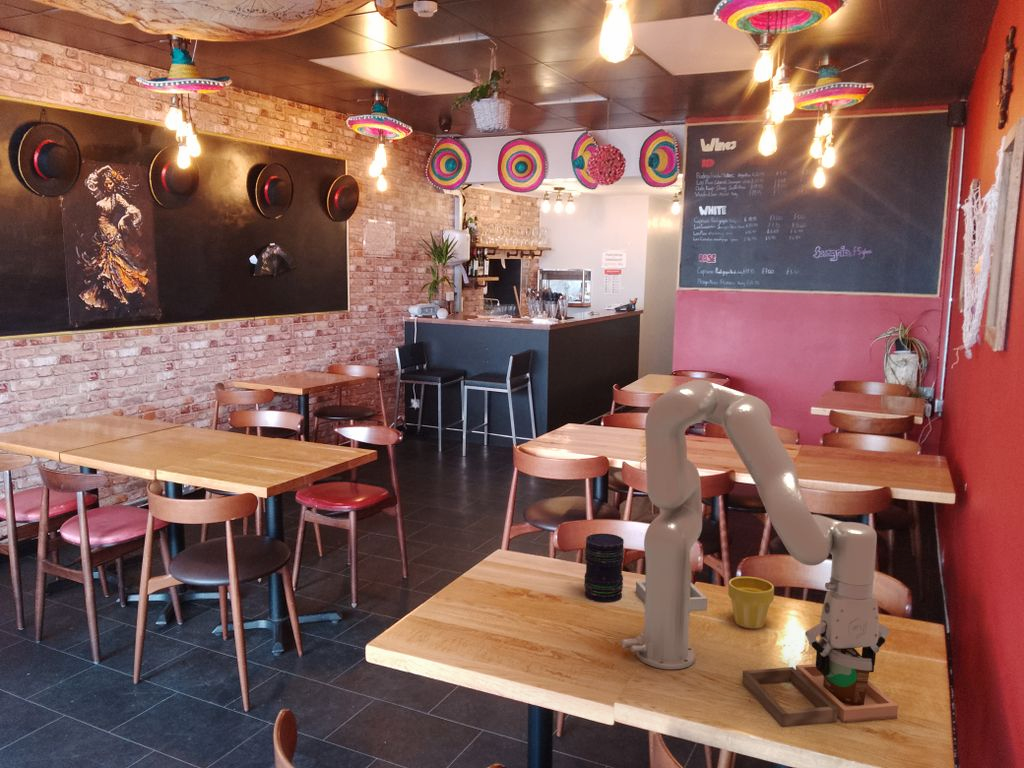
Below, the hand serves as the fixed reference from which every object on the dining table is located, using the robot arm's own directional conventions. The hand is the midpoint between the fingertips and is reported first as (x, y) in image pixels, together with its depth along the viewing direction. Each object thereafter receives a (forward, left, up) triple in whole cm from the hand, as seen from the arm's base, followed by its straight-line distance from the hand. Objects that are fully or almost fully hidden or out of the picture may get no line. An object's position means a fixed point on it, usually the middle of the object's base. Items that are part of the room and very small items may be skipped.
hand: (844, 670), depth 152 cm
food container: (-2, 0, -5) cm, 5 cm away
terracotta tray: (0, 0, -5) cm, 5 cm away
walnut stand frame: (-12, 0, -5) cm, 13 cm away
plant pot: (-3, +34, -6) cm, 34 cm away
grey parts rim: (-17, +49, -5) cm, 52 cm away
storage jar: (-33, +55, -6) cm, 64 cm away
